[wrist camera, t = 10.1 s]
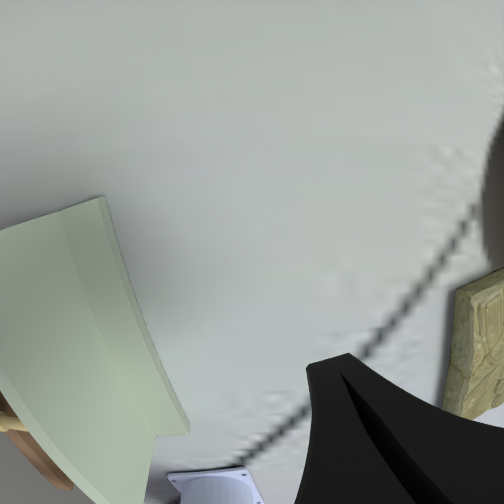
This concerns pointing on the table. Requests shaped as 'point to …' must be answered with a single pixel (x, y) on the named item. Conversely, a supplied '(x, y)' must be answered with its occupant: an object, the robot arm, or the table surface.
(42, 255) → the curved green slab
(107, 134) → the table surface
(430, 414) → the robot arm
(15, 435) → the picture frame
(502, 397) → the decorative tile
